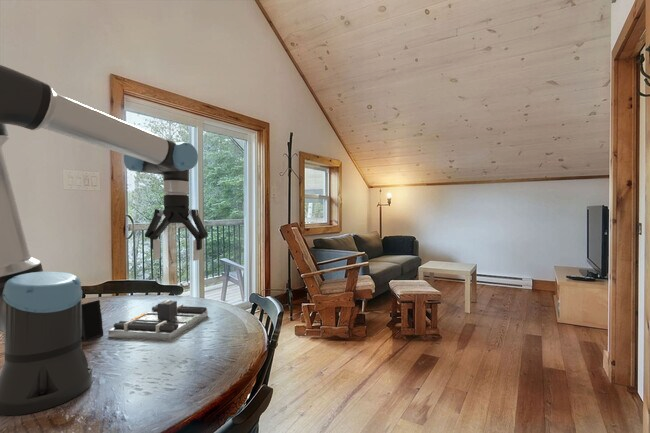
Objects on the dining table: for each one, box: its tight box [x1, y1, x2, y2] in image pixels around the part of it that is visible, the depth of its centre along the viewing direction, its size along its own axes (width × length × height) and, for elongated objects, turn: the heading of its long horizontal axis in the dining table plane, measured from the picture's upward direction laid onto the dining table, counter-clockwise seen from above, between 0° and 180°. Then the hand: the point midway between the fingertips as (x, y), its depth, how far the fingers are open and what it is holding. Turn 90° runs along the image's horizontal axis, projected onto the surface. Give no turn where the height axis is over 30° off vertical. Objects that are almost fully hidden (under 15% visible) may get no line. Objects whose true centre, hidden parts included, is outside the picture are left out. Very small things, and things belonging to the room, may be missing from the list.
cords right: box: [151, 303, 208, 313], centre depth 113 cm, size 4×19×2 cm, turn 83°
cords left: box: [113, 318, 178, 332], centre depth 96 cm, size 4×19×2 cm, turn 82°
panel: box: [107, 309, 209, 342], centre depth 104 cm, size 22×19×2 cm
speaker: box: [81, 299, 104, 342], centre depth 96 cm, size 8×6×10 cm
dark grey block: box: [157, 299, 178, 320], centre depth 105 cm, size 4×4×5 cm
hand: (176, 259), depth 107 cm, fingers open, 13 cm apart
